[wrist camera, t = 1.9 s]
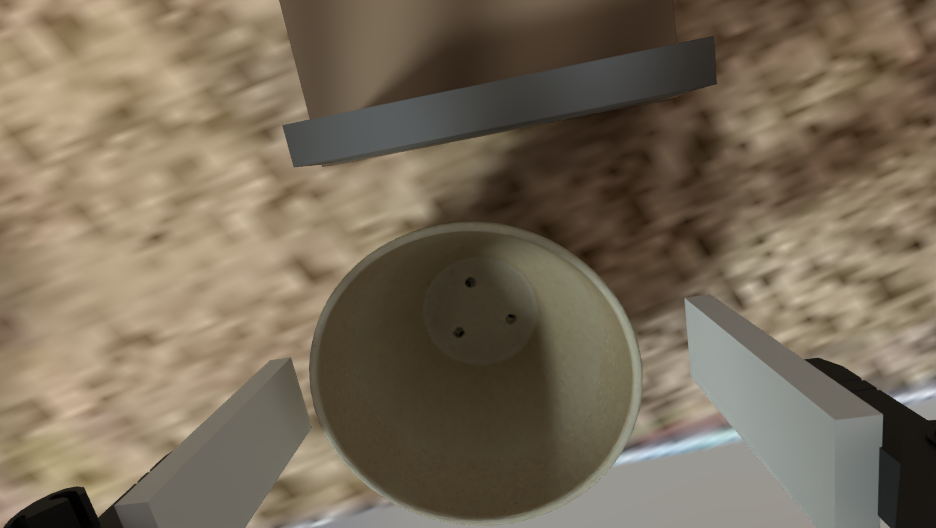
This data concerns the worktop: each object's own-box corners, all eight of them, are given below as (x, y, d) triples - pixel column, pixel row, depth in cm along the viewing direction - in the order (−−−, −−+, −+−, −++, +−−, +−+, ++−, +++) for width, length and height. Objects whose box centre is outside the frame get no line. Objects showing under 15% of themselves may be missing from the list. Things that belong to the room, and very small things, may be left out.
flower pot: (527, 152, 19) (548, 155, 12) (627, 351, 21) (696, 454, 14) (326, 263, 20) (242, 323, 13) (437, 438, 22) (413, 569, 15)
